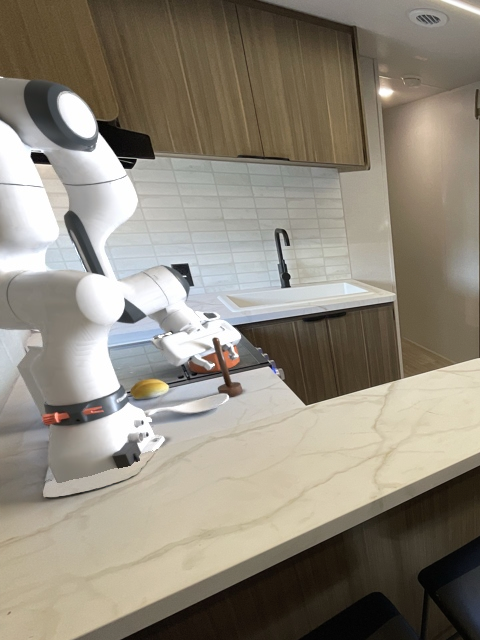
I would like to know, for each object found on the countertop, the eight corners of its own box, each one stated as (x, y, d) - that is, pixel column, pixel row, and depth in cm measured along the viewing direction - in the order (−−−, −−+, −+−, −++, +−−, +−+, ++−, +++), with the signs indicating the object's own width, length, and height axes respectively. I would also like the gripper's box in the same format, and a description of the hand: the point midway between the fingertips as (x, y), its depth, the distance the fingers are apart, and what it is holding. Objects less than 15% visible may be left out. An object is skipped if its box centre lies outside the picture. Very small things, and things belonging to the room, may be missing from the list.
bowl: (240, 368, 134) (235, 351, 132) (188, 377, 127) (182, 359, 125) (240, 356, 145) (236, 340, 143) (192, 363, 138) (187, 346, 136)
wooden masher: (242, 394, 115) (226, 338, 108) (219, 399, 112) (201, 341, 105) (242, 388, 119) (227, 333, 112) (220, 392, 116) (203, 336, 110)
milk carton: (66, 425, 99) (31, 352, 92) (44, 422, 100) (8, 350, 93) (98, 411, 106) (67, 343, 98) (77, 409, 107) (45, 341, 100)
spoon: (69, 436, 94) (62, 423, 93) (228, 397, 113) (224, 386, 111) (63, 453, 88) (56, 439, 86) (233, 409, 106) (229, 397, 105)
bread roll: (137, 403, 110) (132, 390, 108) (130, 394, 115) (124, 381, 114) (174, 393, 116) (169, 380, 114) (165, 385, 121) (160, 373, 120)
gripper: (150, 330, 99) (193, 370, 101) (221, 311, 118) (257, 345, 119) (142, 346, 102) (185, 384, 104) (213, 324, 121) (248, 358, 122)
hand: (224, 363), depth 112 cm, fingers open, 6 cm apart
